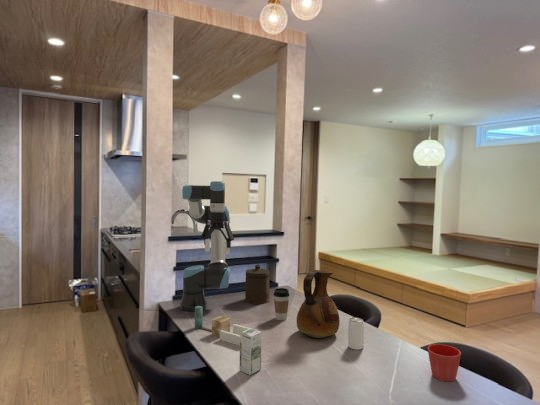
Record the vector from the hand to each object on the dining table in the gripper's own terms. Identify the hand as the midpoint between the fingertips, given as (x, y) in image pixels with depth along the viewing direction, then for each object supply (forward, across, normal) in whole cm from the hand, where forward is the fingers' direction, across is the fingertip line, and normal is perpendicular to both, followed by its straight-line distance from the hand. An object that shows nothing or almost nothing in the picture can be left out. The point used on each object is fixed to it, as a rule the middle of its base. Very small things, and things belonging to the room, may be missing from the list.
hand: (217, 252), depth 186 cm
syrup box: (+35, +46, -33) cm, 67 cm away
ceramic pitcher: (+35, +51, +13) cm, 63 cm away
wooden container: (+35, -3, +40) cm, 53 cm away
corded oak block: (+35, +8, -13) cm, 38 cm away
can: (+35, +71, +9) cm, 80 cm away
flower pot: (+35, +106, +3) cm, 112 cm away
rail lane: (+35, +25, -13) cm, 45 cm away
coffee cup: (+35, +26, +21) cm, 48 cm away
